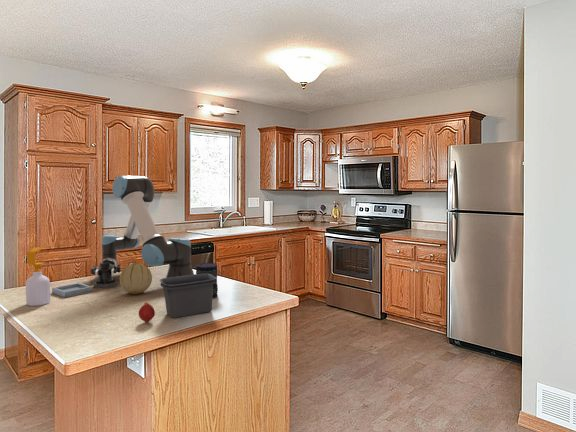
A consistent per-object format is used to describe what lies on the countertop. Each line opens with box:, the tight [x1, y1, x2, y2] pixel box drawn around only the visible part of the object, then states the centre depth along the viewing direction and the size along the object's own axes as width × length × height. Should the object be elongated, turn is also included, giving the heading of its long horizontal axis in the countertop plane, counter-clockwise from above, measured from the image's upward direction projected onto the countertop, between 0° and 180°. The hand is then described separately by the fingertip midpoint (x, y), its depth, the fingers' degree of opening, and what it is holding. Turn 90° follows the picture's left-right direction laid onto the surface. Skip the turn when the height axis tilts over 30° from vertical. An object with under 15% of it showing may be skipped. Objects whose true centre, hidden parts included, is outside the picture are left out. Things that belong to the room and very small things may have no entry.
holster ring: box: [93, 279, 118, 289], centre depth 217 cm, size 11×11×2 cm
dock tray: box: [51, 282, 93, 298], centre depth 204 cm, size 13×13×2 cm
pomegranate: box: [138, 301, 156, 323], centre depth 160 cm, size 6×6×8 cm
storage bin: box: [159, 273, 216, 319], centre depth 173 cm, size 21×16×14 cm
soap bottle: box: [25, 246, 51, 307], centre depth 185 cm, size 9×9×25 cm
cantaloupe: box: [119, 261, 153, 295], centre depth 202 cm, size 15×15×15 cm
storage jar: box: [195, 262, 219, 300], centre depth 197 cm, size 10×10×15 cm
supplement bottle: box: [97, 261, 114, 284], centre depth 217 cm, size 7×7×12 cm
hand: (104, 273), depth 212 cm, fingers closed on supplement bottle, 7 cm apart
